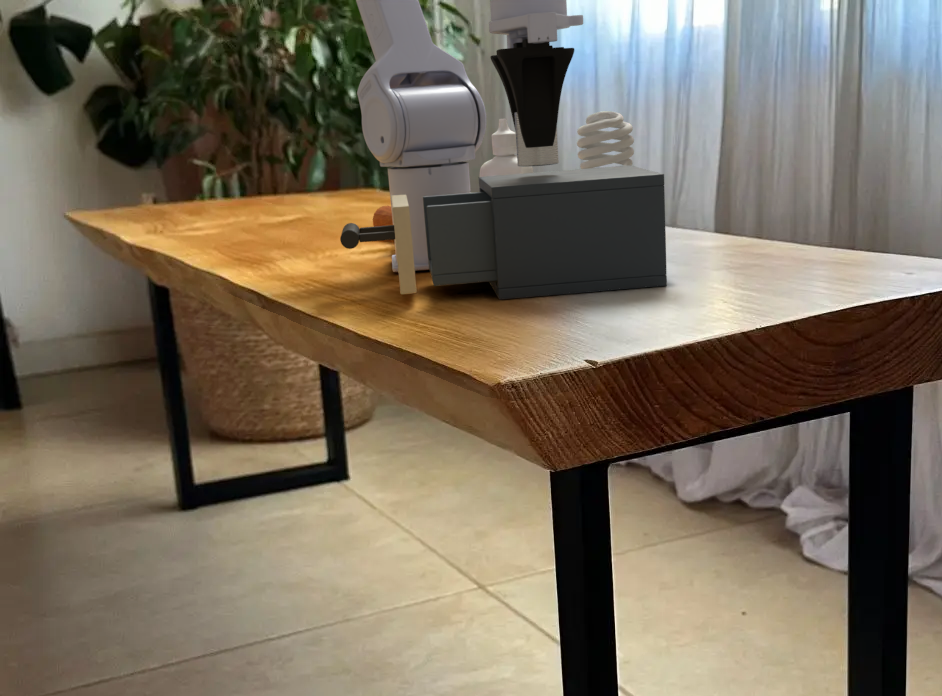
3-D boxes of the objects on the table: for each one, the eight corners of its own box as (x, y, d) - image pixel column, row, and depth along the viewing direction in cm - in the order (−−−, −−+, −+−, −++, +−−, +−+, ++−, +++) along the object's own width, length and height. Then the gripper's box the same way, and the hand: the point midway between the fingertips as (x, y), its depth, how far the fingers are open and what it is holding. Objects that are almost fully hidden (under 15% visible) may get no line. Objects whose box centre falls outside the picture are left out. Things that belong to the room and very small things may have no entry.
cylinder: (515, 165, 97) (512, 112, 96) (555, 162, 97) (552, 109, 96) (520, 167, 94) (516, 112, 93) (561, 164, 94) (558, 109, 93)
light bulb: (648, 232, 124) (644, 108, 120) (611, 240, 120) (607, 111, 116) (606, 231, 128) (601, 110, 124) (569, 238, 124) (563, 114, 120)
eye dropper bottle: (519, 238, 127) (511, 117, 123) (542, 243, 122) (535, 116, 118) (480, 243, 125) (471, 120, 121) (501, 248, 120) (493, 120, 116)
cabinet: (499, 299, 91) (491, 187, 88) (485, 276, 103) (478, 176, 100) (667, 285, 91) (664, 174, 89) (634, 264, 103) (630, 165, 101)
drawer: (344, 299, 90) (335, 211, 88) (348, 277, 101) (340, 199, 99) (555, 281, 91) (550, 194, 89) (536, 262, 102) (532, 184, 100)
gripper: (596, -60, 84) (604, 145, 89) (564, -38, 98) (572, 139, 102) (494, -54, 84) (507, 152, 88) (476, -33, 97) (488, 145, 102)
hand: (536, 146), depth 95 cm, fingers closed on cylinder, 3 cm apart
